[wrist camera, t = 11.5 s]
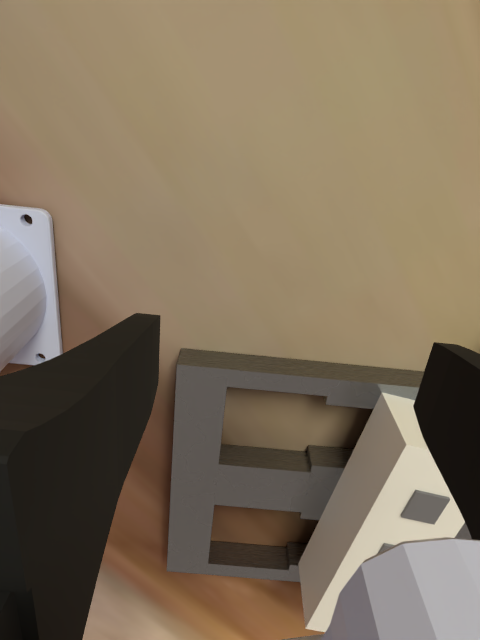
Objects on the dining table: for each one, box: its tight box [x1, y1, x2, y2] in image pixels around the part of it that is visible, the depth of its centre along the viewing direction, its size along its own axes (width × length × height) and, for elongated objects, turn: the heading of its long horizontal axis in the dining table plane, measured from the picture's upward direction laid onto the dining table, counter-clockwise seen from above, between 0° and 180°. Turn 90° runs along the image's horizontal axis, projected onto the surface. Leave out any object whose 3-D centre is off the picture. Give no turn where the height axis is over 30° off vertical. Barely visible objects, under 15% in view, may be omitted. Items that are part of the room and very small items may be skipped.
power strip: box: [298, 392, 465, 632], centre depth 24 cm, size 4×13×5 cm, turn 165°
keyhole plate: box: [167, 348, 472, 582], centre depth 26 cm, size 18×15×2 cm
